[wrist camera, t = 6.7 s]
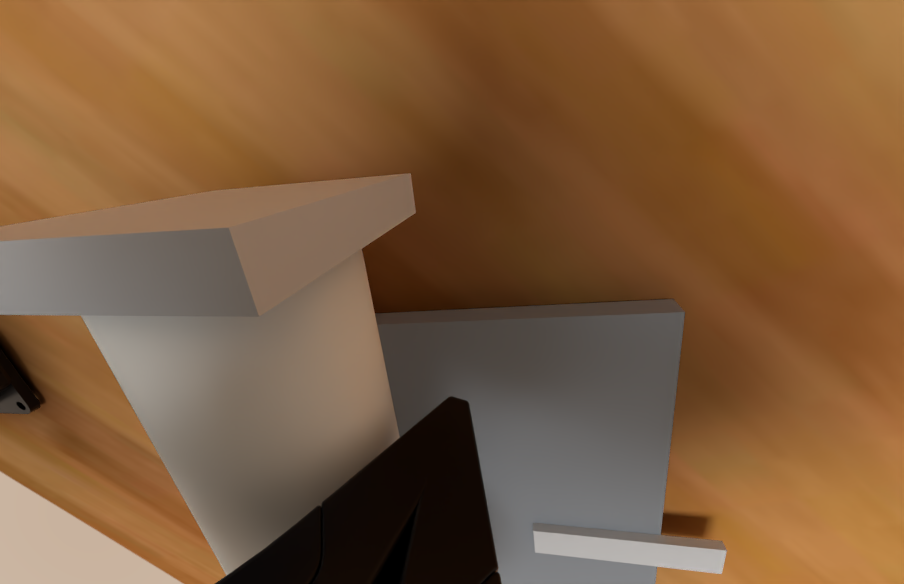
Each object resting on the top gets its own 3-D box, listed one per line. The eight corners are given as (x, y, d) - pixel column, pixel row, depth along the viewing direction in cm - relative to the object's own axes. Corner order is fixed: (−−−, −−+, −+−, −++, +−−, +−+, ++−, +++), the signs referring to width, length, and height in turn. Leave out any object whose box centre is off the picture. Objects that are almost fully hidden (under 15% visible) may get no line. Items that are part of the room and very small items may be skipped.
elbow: (492, 630, 13) (474, 865, 9) (339, 599, 15) (260, 790, 10) (449, 169, 7) (317, 222, 3) (187, 192, 8) (-178, 252, 4)
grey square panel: (300, 596, 20) (263, 671, 18) (136, 280, 13) (25, 320, 10) (683, 662, 16) (718, 780, 13) (764, 224, 8) (888, 269, 5)
